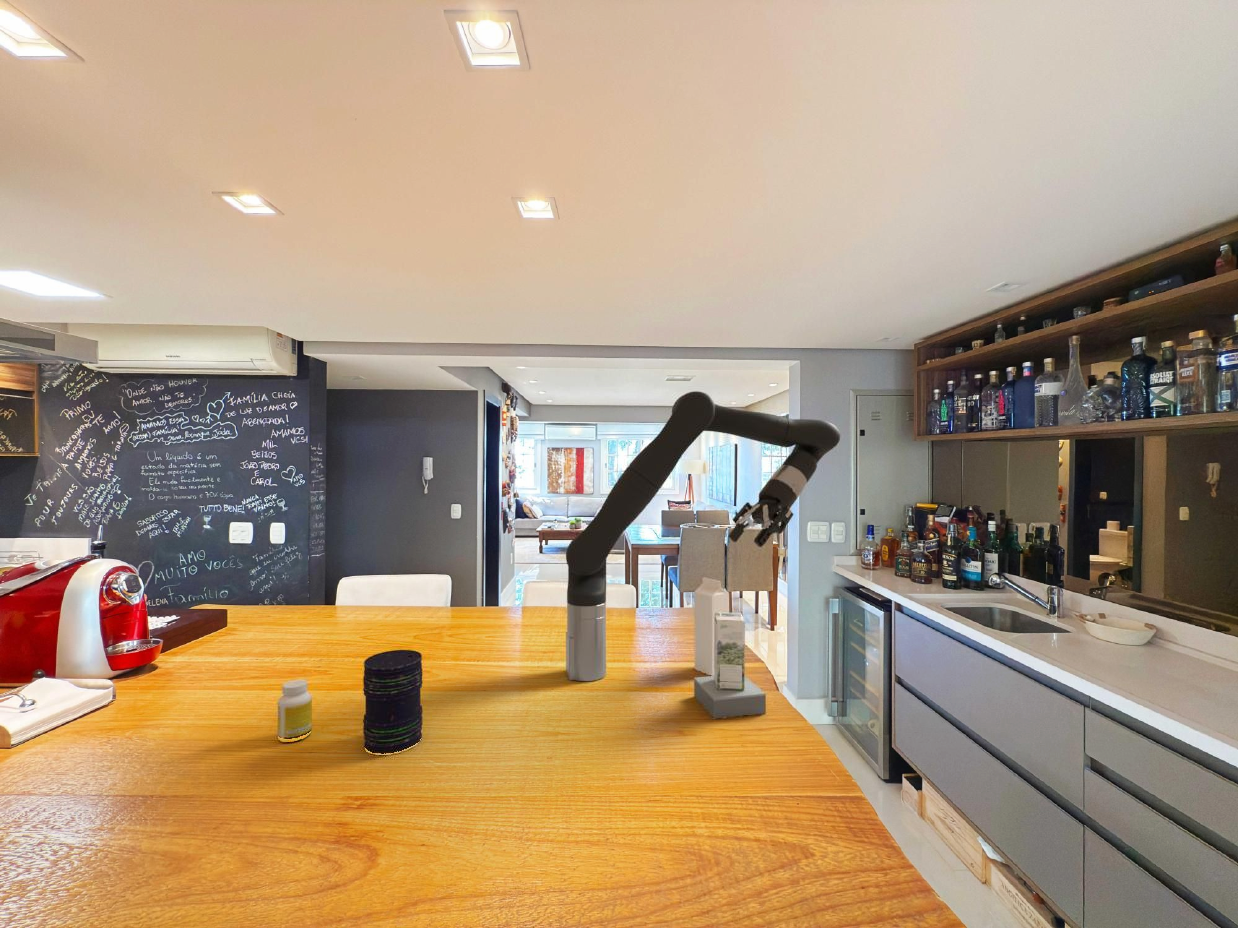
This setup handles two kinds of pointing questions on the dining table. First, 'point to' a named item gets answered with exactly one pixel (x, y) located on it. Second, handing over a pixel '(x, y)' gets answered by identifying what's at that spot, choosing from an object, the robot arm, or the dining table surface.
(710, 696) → the podium
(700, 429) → the robot arm
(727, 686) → the syrup box
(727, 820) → the dining table surface
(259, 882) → the dining table surface
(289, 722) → the supplement bottle
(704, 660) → the milk
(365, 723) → the storage jar
